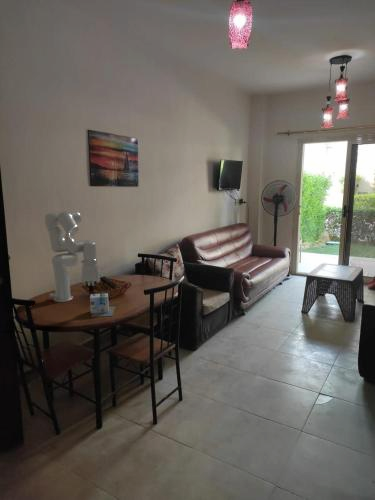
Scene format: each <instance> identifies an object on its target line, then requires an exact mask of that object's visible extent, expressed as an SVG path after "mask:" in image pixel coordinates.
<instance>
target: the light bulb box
mask: <svg viewBox="0 0 375 500" xmlns="http://www.w3.org/2000/svg"><path fill="white" fill-rule="evenodd" d="M89 304H90V306H89V308H90V314H91V315H93V313H107V312H109V307H110V306H109V305H110V303H109V293H108V292H104V293H90V296H89Z"/></svg>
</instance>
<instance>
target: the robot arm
mask: <svg viewBox="0 0 375 500" xmlns="http://www.w3.org/2000/svg"><path fill="white" fill-rule="evenodd" d="M81 222H82V216H81V214H80V211H79V212H78V211H77V210H71V211H65V210H64V211H54V212H48V213H47V214H45V216H44V224H45V227H46V230H47V231H48V235H49V241H50V246H51V249H52V251H53V252H54V253H59V254H55V255H53V256H52V257H51V264H52V269H53V275H54V276H53V277H54V289H55V293H49V297H50V298H53V301H54V302H56V303H64V302H69V301H71V300H73V299H74V296H73V295H71V284H70V273H69V272H68V270H67V269H66V268H70V267H76V266H77V265H78V264H79V255H78V254H82V255H83V260H80V263H81V264H82V266H81V267H82V268H81V281H82V284H86V285H87V286H88V291H89V293H93V292H94V291H95V285H96V284H99V283H100V282H101V274H100V273H101V272H100V267H99V264H98V260H97V244H96V242H94V241H90V240H89V239H84V240H74V238H73V236H75V235H77V234H78V233H79V231H80V227H79V225H78V224H80V223H81ZM59 225H61V228H63V230H64V231H65V234H64V235H63V230H62V229H61V228H60V226H59ZM64 252H67V253H64Z"/></svg>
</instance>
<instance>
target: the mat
mask: <svg viewBox="0 0 375 500" xmlns="http://www.w3.org/2000/svg"><path fill="white" fill-rule="evenodd" d="M114 309H116V306H109V312H107V313H92V314H91V318H101V317H102V318H103V317H107V318H108V317H113V315H114V312H115V310H114Z"/></svg>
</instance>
